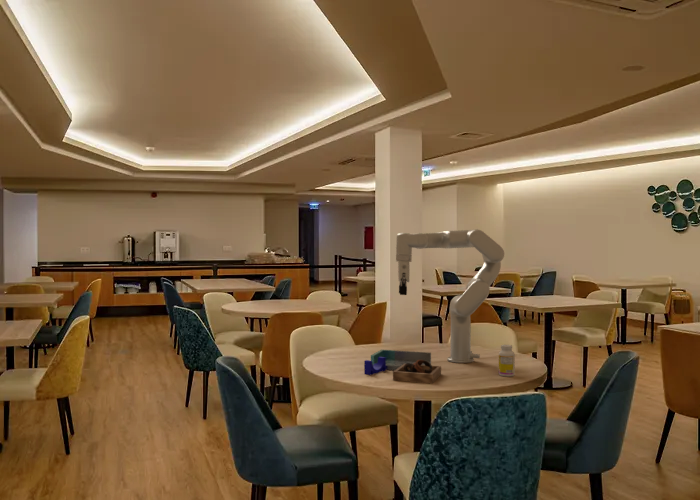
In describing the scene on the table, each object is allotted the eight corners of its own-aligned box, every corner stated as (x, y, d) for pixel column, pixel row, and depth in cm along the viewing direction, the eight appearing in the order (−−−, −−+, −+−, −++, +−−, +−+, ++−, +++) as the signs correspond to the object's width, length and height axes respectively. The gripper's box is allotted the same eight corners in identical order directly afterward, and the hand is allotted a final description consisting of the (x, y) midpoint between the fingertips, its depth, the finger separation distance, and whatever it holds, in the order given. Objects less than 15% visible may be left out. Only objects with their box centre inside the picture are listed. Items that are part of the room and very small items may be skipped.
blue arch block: (377, 369, 274) (377, 356, 274) (385, 371, 271) (385, 357, 271) (361, 374, 264) (361, 360, 264) (370, 375, 262) (370, 361, 262)
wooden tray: (441, 374, 263) (441, 366, 263) (432, 383, 246) (432, 374, 246) (404, 371, 269) (404, 363, 269) (393, 380, 251) (393, 371, 251)
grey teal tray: (431, 365, 283) (431, 352, 283) (423, 372, 267) (423, 358, 267) (381, 362, 291) (381, 349, 291) (370, 368, 275) (370, 355, 275)
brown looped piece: (425, 375, 264) (432, 360, 261) (428, 389, 256) (436, 374, 252) (399, 368, 262) (406, 353, 259) (401, 382, 254) (408, 367, 250)
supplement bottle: (502, 373, 266) (502, 343, 266) (517, 375, 262) (517, 345, 262) (495, 375, 261) (496, 345, 261) (510, 377, 257) (510, 347, 257)
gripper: (412, 259, 286) (411, 295, 286) (410, 258, 303) (409, 293, 303) (396, 258, 286) (395, 295, 286) (395, 258, 303) (394, 292, 303)
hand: (402, 294), depth 295 cm, fingers open, 9 cm apart
